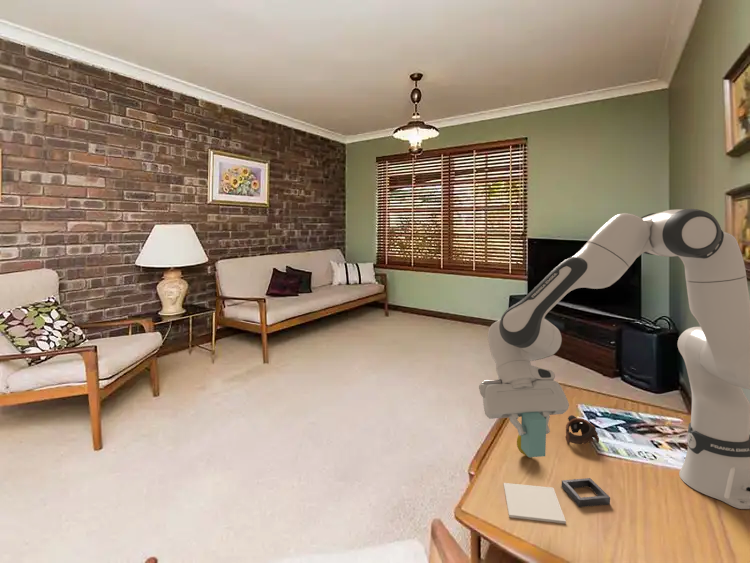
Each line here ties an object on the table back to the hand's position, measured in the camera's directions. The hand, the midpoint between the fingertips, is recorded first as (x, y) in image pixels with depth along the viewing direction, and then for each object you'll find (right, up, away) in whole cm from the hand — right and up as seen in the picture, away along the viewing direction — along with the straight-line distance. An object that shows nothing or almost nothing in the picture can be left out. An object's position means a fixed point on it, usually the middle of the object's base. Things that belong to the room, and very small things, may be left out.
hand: (534, 434), depth 93 cm
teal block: (0, -5, +1) cm, 5 cm away
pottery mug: (+26, -14, +31) cm, 43 cm away
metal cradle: (+14, -17, +5) cm, 23 cm away
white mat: (0, -17, +3) cm, 18 cm away
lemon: (+7, -15, +23) cm, 28 cm away
